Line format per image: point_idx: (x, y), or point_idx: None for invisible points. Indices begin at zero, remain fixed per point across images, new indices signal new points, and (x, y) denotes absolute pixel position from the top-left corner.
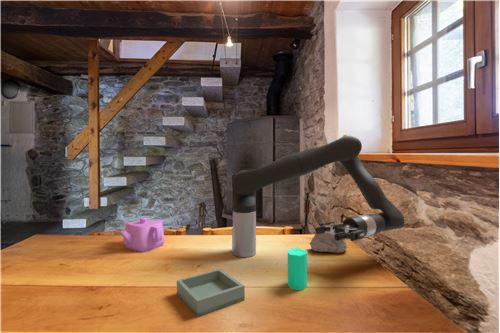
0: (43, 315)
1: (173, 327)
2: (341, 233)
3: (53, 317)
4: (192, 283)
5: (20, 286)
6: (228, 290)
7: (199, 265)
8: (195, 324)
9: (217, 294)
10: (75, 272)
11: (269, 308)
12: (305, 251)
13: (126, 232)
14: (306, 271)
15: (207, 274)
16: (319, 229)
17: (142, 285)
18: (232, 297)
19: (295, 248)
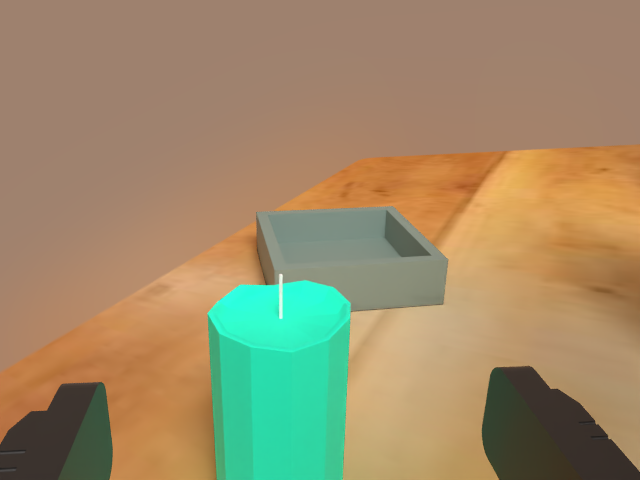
0: (381, 168)
1: (245, 229)
2: (24, 469)
3: (370, 172)
4: (396, 237)
5: (496, 156)
6: (269, 245)
7: (605, 292)
8: (231, 245)
9: (262, 231)
10: (555, 177)
11: (179, 346)
12: (263, 344)
13: None
14: (222, 441)
15: (415, 242)
16: (511, 420)
17: (461, 217)
18: (268, 274)
19: (341, 319)
